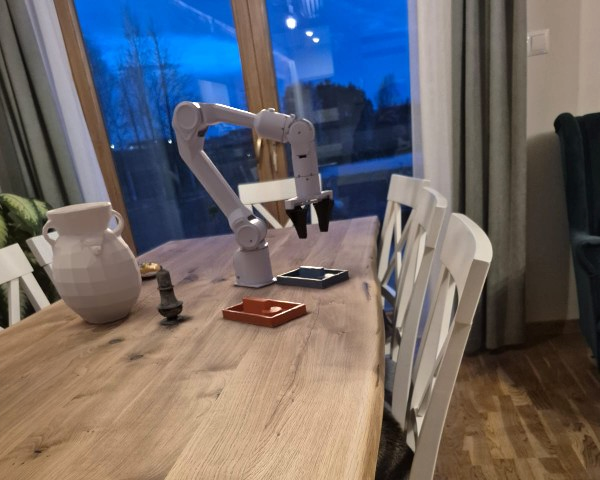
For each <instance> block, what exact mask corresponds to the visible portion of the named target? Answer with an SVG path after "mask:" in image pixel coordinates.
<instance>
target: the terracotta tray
mask: <svg viewBox="0 0 600 480" xmlns="http://www.w3.org/2000/svg"><path fill="white" fill-rule="evenodd" d="M254 298H258V297H256V296H255V297H254ZM260 298H261V299H265V298H263V297H260ZM267 299H268V300H270V305H271V307H280V308H281V309H282V313H280V314H277V315H275V316H272V317H268V316H263V315H258V314H253V313H247V312H244V308H243V302H242V301H241V302H239V303H237V304H234V305H231V306H228V307H226V308H223V309H221V313H222V318H223V319H224V320H229V321H235V322H241V323H245V324H252V325H257V326H262V327H266V328H267V327H268V328H275V327H277V326H279V325H282V324H284V323H286V322H289V321H291V320H293V319H296V318H299V317H301V316H303V315H305V314H307V305H306V303H300V302H293V301H286V300H279V299H278V300H277V299H271V298H267Z"/></svg>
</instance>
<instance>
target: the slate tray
mask: <svg viewBox="0 0 600 480" xmlns="http://www.w3.org/2000/svg"><path fill="white" fill-rule="evenodd" d="M324 272H325V274H334V275H333V276H330V277H327V278H325V279H322V280H317V279H307V278H300V272H299V268H296V269H293V270H290V271H287V272H284V273H282V274H279V275H276V277H275V278H277V281H276V283H277V285H285V286H296V287H303V288H304V287H305V288H312V289H322V290H323V289H325V288H328V287H331V286H332V285H333V286H334V285H335V284H338V283H341V282H343V281H346V280H348V279H350V277H349V276H350V275H349V270H348V269H337V268H336V269H334V268H324Z"/></svg>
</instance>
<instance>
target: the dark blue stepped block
mask: <svg viewBox="0 0 600 480" xmlns="http://www.w3.org/2000/svg"><path fill="white" fill-rule="evenodd" d="M298 269H299V272H300V278H307V279H317V280H322V279H325V278H327V277H330V276H333V275H334V274H325V272H324V269H325V267H324V266H311V265H309V266H308V265H301V266H299V267H298Z"/></svg>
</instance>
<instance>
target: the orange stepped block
mask: <svg viewBox="0 0 600 480" xmlns="http://www.w3.org/2000/svg"><path fill="white" fill-rule="evenodd" d="M261 298H262V297H257V298H255V297H254V296H245V297H243V298H241V303H242V302H243V308H244V312H247V313H253V314H258V315H263V316H268V317H272V316H275V315H277V314H280V313H282V309H281V308H280V307H271V305H270V300H268V299H269V298H264V299H261Z"/></svg>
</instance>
